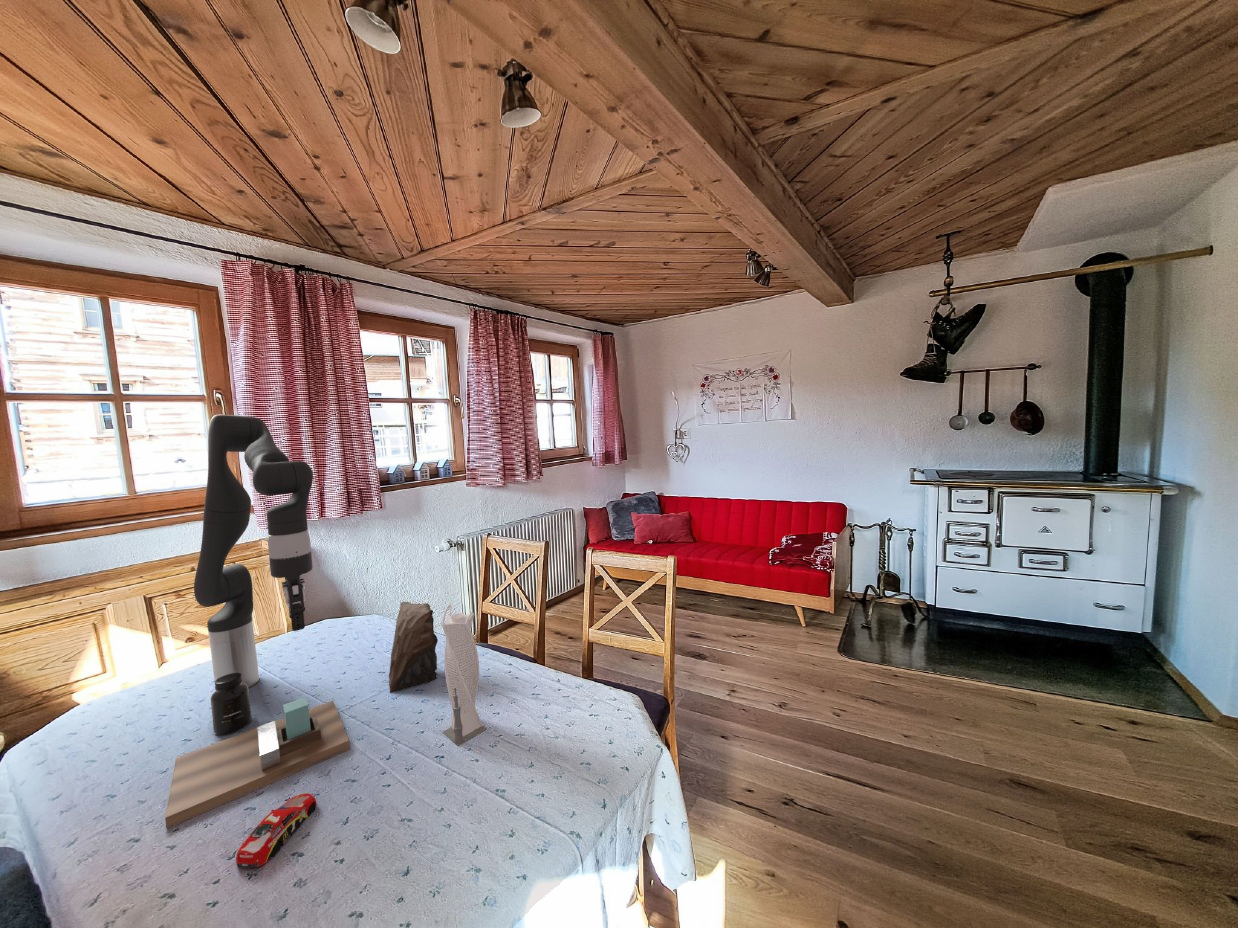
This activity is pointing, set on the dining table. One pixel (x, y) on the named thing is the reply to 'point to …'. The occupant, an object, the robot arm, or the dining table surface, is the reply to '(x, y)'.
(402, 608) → the brown rock
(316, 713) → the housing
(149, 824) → the dining table surface
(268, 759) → the bar
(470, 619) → the skyscraper
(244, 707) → the supplement bottle
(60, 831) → the dining table surface
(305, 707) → the peg
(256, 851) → the race car
